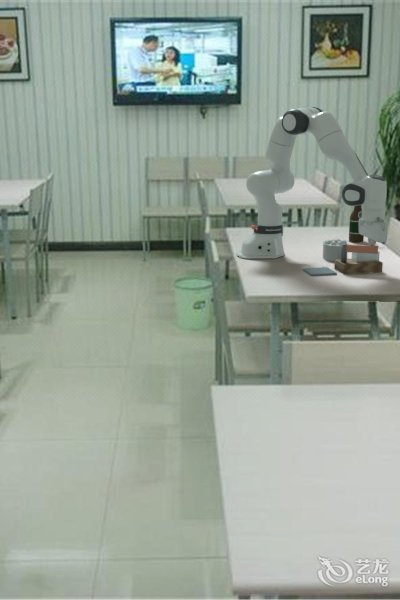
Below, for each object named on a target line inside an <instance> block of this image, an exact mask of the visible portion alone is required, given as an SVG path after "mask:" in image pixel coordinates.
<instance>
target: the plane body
mask: <svg viewBox="0 0 400 600" xmlns="http://www.w3.org/2000/svg"><path fill="white" fill-rule="evenodd" d="M383 263H384V262H383V261H381V260H379V261H377V262H358V263H356V262H354V261H352V258H347V262H341V259H338V260H335V262H334V267H333V269H334V271H337V272H339V273H340V274H343V275H352V274H353V273H356V274H370V272H374V273H382V272H383V267H384V266H383V265H384V264H383ZM353 275H354V274H353Z"/></svg>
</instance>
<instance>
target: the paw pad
mask: <svg viewBox="0 0 400 600" xmlns="http://www.w3.org/2000/svg"><path fill="white" fill-rule="evenodd" d="M322 244H323V245H322V259H323V260H324V261H326V262H332V263H335V260H338V259H341V246H342V244H348V242H347V240H345V239H342V240H341V239H340V238H329V239H326V240H325V241H323V243H322Z"/></svg>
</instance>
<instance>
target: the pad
mask: <svg viewBox="0 0 400 600" xmlns="http://www.w3.org/2000/svg"><path fill="white" fill-rule="evenodd" d="M302 271H303V272H304V273H305V274H307V275H309V276H310V277H319V276H320V277H321V276H323V277H325V276H337V274H338V273H337V272H336V270H333V269H331V268H329V267H328V266H325V267H306V268H305V267H303V268H302Z"/></svg>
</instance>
